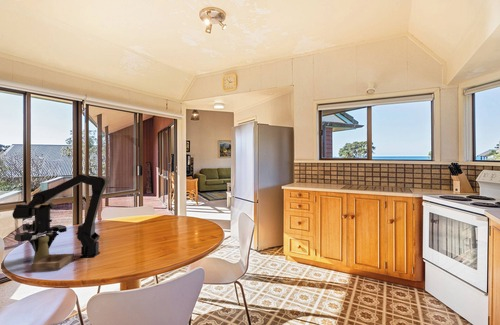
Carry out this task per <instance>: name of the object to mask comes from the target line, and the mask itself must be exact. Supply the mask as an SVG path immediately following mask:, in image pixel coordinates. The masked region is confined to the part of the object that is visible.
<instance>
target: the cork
mask: <svg viewBox="0 0 500 325" xmlns="http://www.w3.org/2000/svg"><path fill="white" fill-rule="evenodd" d="M37 238H38V239H39V242H38V251H37V253H35V252H34V255H33V260H32V261H33V263H34V262H36V261H38V260H40V259H41V258H43V257H45V256H47V255H49V254H50V248H48V241H49V237H48V236H46V235H38V236H37Z"/></svg>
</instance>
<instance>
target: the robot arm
mask: <svg viewBox="0 0 500 325" xmlns="http://www.w3.org/2000/svg"><path fill="white" fill-rule="evenodd" d="M109 181H110V180H109V179H108V178H107V177H106V176H96V175H95V176H94V175H89V174H85V173H79V174H78V175H76V176H74V177H72V178H70V179H68V180H66V181H64V182H61V183H60V184H58V185H56V186H54V187H51V188H47V189H45V190H41V191H38V192H35V193H34V194H33V195H32V199H30V202H29V203H28V204H27V203H25V204H22V203H17V204H15V207H14V209H13V212H12V218H13V219H14V220H22V219H32V218H33V217H34V220H32V223H31V224H30V223H29V222H28V223H24V224H22V231H23V232H19V233H15V235H14V241H16V242H20V243H21V242H27V241H28V242H29V243H30V245H31V247H32V249H33V251H34V254H35V253H37V251H38V242H39V239H38V238H37V237H39V236H44V235H45V236H48V237H49V241H48V248H49V249H50V247H51V246H52V244H53V242H54V240H56V238H57V236H59V235H60V234H59V233H65V232H67V230H68V229H67V226H66V225H62V224H57V225H53V226H51V223H52V222H53V220H52V219H51V209H54V208H56V207H57V206H56V205H55V204H54V203H52V202H51V201H53V200H55V198H57V197H58V196H59V195H60V194H63V193H64V192H66V191H68V190H70V189H72V188H73V187H76V186H78V185H80V184H82V183H83V184H85V185H87V186H88V185H89V186H91V197H90V201H89V205H88V208H87V212H86V215H85V220H84V222H83V223H81V224H80V225H78V226H77V232H76V233H75V235H76V240H78V241H79V242H80V244H81V248H80V255H81V256H80V255H79V257H80V258H95V257H97V256H98V255H99V254H100V253H101V251H99V250H100V246H99V245H100V241H99V239H100V237H101V235H99V233H98V232H96V219H97V215H98V211H99V207H100V203H101V200H102V196H103V194H104V192H105V191H106V189H107V188H108V185H109ZM47 203H48V204H47Z"/></svg>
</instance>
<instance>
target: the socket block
mask: <svg viewBox="0 0 500 325" xmlns="http://www.w3.org/2000/svg"><path fill="white" fill-rule="evenodd" d="M74 261H75V253H59V254H58V253H57V254H55V253H54V254H52V253H51V254H50V253H49V255H47V256H45V257H43V258H41V259H40V260H38V261H36V262H34V261H33V262H32V263H31V265H30V271H31V272H40V271H42V272H43V271H60V270H61V269H63V268H64V267H66V266H68V265H69V264H70V263H72V262H74Z"/></svg>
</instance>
